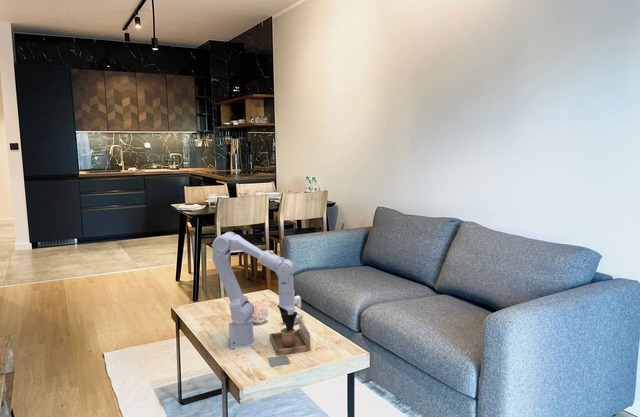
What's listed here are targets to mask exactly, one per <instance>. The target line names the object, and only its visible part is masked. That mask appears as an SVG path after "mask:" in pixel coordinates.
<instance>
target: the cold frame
mask: <svg viewBox="0 0 640 417" xmlns="http://www.w3.org/2000/svg"><path fill="white" fill-rule="evenodd" d="M269 340H270V343H271V345H272V347H273V350H274V353H275V356H285V355H287V356H288V355H293V354H301V353H307V352H309V351H308V343H307V342H306V340H305V338H304V336H303V335H302V333H301V331H300V330H299V328H297V330H296V329H295V334H294V344H295V345H294V346H292V347H284V346H283V345H282V334H281V331H279V332H273V333H269ZM311 349H312V347H311V345H310V351H312V350H311Z"/></svg>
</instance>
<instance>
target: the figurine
mask: <svg viewBox="0 0 640 417" xmlns="http://www.w3.org/2000/svg"><path fill="white" fill-rule="evenodd" d="M294 301H297V303H298V304H297V305H295V306H294V308H293V312H296V308H298V309H301V308H302V298H301V296H300V295H295V290H294ZM280 318H281V319H282V316H281V314H280ZM299 318H301V320H302V321H303V318H304V314H301V313H299V312H297V316H296V318H295V321H294V325H299Z"/></svg>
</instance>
